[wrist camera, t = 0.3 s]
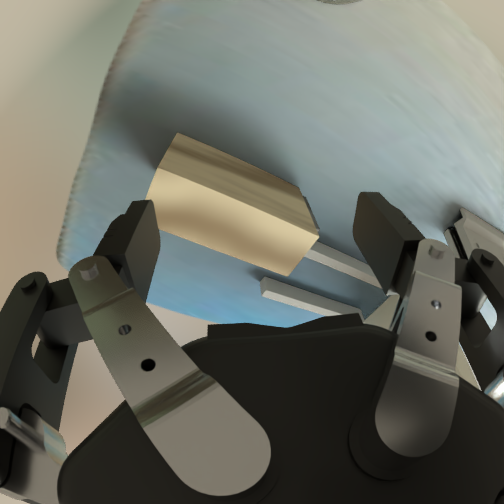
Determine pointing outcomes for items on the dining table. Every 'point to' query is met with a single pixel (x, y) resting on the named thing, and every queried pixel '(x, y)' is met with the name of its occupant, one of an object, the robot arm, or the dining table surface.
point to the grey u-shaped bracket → (332, 307)
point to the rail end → (231, 206)
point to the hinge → (474, 237)
